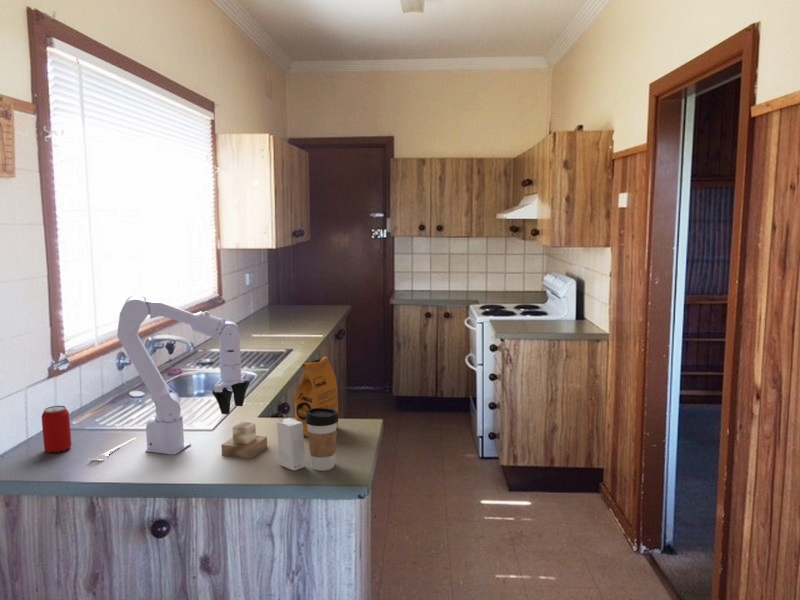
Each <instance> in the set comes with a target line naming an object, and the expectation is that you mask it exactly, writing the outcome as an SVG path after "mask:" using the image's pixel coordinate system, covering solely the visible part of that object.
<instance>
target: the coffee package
mask: <svg viewBox="0 0 800 600" xmlns="http://www.w3.org/2000/svg"><path fill="white" fill-rule="evenodd" d="M301 368H303V369H304V371H305V372H304V373H303V376H302V378H301V381H300V383H299V384H298V387H297V389H296V391H295V397H294V408H295V409H294V411H295V415H294V416H295V417H294V418H295V419H294V420H296V421H299V422H302V423H303V435H304V437H307V438H308V432H307V429H308V424H307V423H306V411H307V410H309V409H311V408H329V409H334V410H336V411H337V415H338V412H339V411H338V410H339V407H338V406H339V405H338V403H339V399H338V398H339V397H338V385H337V379H336V375H335V371H334V370H333V368H332V365H331V362H330V361H329V357H328V356H323V357H322V359H321V360H319V361H316V362H314V361H313V362H303V364H302V365H301ZM338 416H339V415H338ZM338 424H339V421H338V422H337V429H338V427H339V425H338Z"/></svg>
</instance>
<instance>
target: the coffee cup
mask: <svg viewBox="0 0 800 600" xmlns="http://www.w3.org/2000/svg"><path fill="white" fill-rule="evenodd" d="M337 422H338V423H339V415H337V411H336V410H334V409H329V408H311V409H309V410H307V411H306V423H307V424H308V429H307V432H308V437H307V438H308V446H309V448H308V449H309V455H310V463H311V468H312V469H313V470H314V471H320V472H321V471H325V472H326V471H329V470H331V469H333V468H335V462H336V450H337V449H336V448H337V436H338V435H337V434H338V428H337Z"/></svg>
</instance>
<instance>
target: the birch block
mask: <svg viewBox="0 0 800 600" xmlns="http://www.w3.org/2000/svg"><path fill="white" fill-rule="evenodd" d="M256 434H257V431H256V422H246V421H240V422H238V423H237V424H235V425H233V426H232V438H233V443H240V444H249V443H251V442H252V441H253V440H255V439H256V436H257V435H256Z"/></svg>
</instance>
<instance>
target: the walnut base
mask: <svg viewBox="0 0 800 600" xmlns="http://www.w3.org/2000/svg"><path fill="white" fill-rule="evenodd" d="M266 448H268V437H267V436H263V435H256V439H255V440H253V441H252V442H251V443H249V444H240V443H233V437H230V439H228V440H227V441H225V442H223V443H222V444H221V456H224V457H234V458H240V457H242V458H243V459H249V458H251V460H252V459H253V458H255V457H256V456H257V455H258V453H259V452H260V453H261V452H262V451H264V450H265V449H266ZM260 453H259V454H260ZM254 456H255V457H254Z"/></svg>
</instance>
